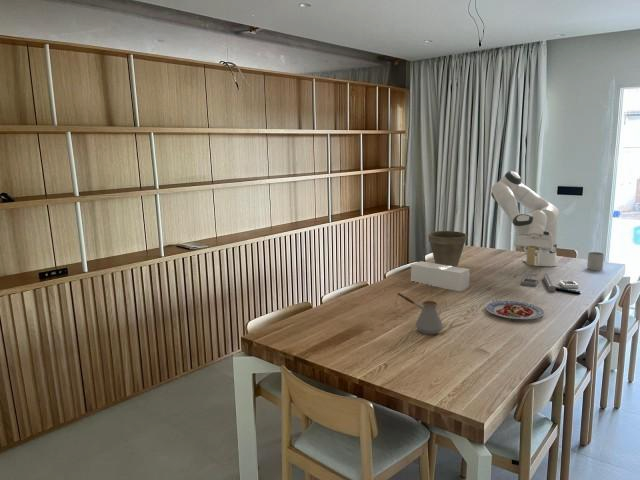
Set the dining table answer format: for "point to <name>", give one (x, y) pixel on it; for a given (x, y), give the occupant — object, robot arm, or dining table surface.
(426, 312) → the coffee pot
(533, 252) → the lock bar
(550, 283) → the long grey bar
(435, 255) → the plant pot
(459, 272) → the white rectangular block
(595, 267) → the cup
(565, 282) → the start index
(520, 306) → the ceramic plate
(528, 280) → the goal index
